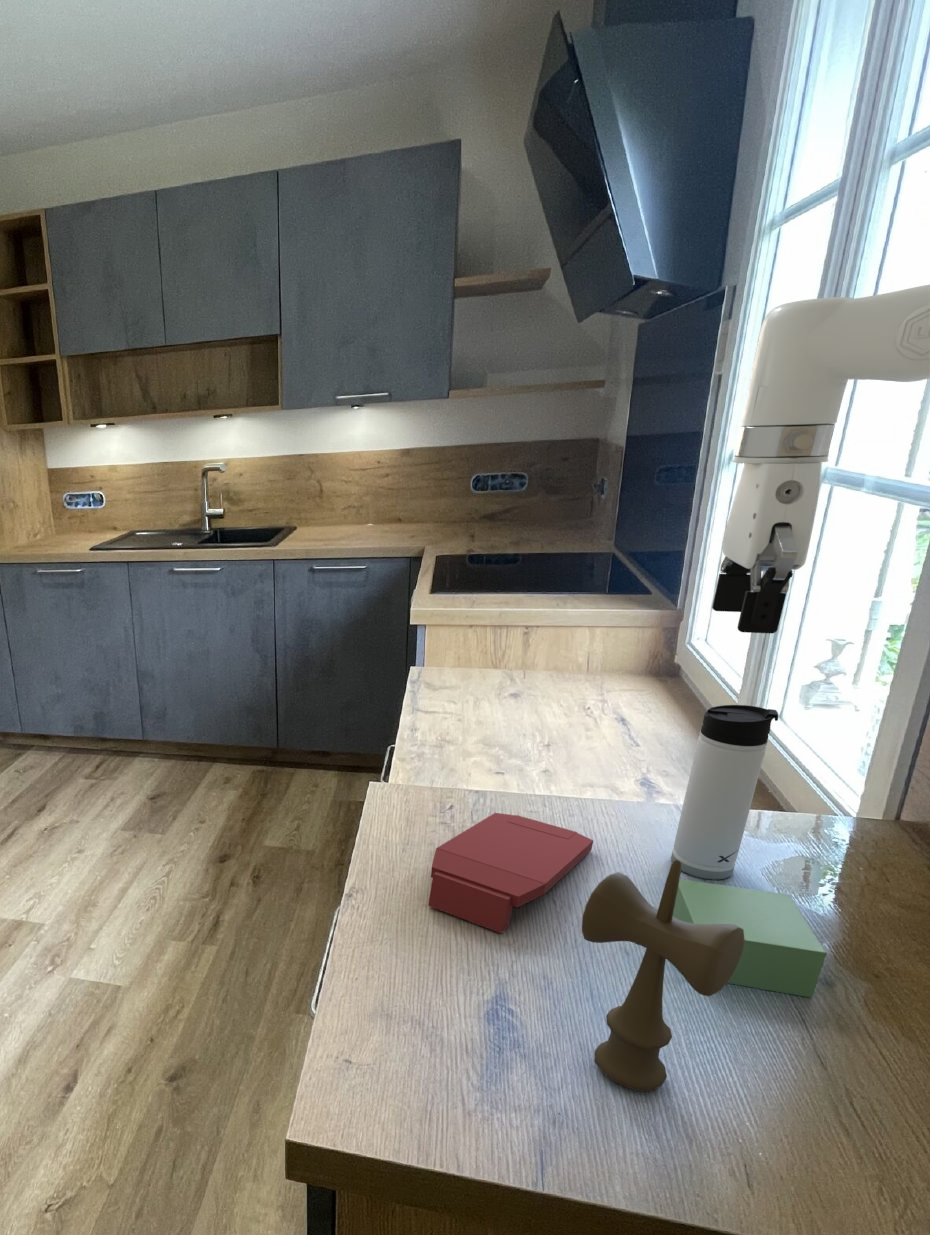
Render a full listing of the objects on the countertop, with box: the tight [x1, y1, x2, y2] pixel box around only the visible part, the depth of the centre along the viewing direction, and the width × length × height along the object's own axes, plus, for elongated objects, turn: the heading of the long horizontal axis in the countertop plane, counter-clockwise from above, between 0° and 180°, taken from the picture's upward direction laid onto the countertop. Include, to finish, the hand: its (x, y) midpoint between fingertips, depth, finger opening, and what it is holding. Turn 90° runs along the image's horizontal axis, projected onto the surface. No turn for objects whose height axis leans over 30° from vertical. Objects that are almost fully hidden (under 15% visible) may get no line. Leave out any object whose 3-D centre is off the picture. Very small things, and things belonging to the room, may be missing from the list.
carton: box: [427, 812, 594, 934], centre depth 93 cm, size 12×5×25 cm
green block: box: [673, 878, 827, 998], centre depth 77 cm, size 10×10×5 cm
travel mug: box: [670, 704, 779, 880], centre depth 90 cm, size 6×7×20 cm
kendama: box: [581, 860, 745, 1092], centre depth 61 cm, size 6×10×20 cm, turn 34°
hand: (741, 621), depth 82 cm, fingers open, 9 cm apart
